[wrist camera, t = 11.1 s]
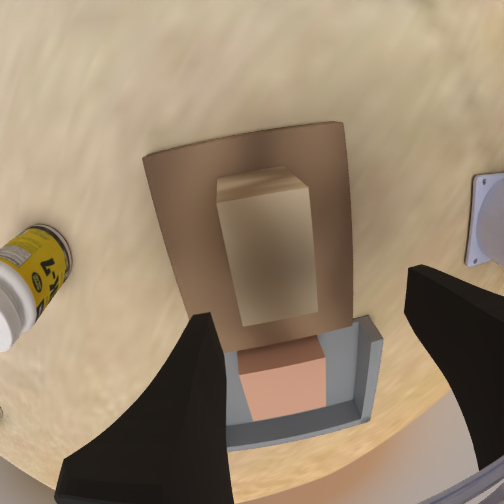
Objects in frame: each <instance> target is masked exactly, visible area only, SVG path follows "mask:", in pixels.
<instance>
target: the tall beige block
mask: <svg viewBox="0 0 504 504" xmlns="http://www.w3.org/2000/svg"><path fill="white" fill-rule="evenodd" d="M216 204H217V209H218V214H219V219H220V224H221V228H222V233H223V238H224V243H225V247H226V252H227V257H228V261H229V266H230V271H231V275H232V280H233V284H234V289H235V293H236V298H237V302H238V307H239V311H240V316H241V320H242V325H243V327H244V326H250V325H255V324H261V323H266V322H271V321H276V320H281V319H286V318H291V317H296V316H301V315H306V314H310V313H315V312H318V301H317V284H316V269H315V255H314V242H313V230H312V219H311V209H310V199H309V189H308V187H307V186H306V185H305V184H304V183H303V182H302V181H301V180H299V179H298V178H297V177H296V176H295V175H294V174H293V173H292V172H290V171H289V170H288V169H287V168H286V167H285V166H279V167H273V168H267V169H261V170H255V171H249V172H243V173H237V174H232V175H227V176H221V177H217V199H216Z"/></svg>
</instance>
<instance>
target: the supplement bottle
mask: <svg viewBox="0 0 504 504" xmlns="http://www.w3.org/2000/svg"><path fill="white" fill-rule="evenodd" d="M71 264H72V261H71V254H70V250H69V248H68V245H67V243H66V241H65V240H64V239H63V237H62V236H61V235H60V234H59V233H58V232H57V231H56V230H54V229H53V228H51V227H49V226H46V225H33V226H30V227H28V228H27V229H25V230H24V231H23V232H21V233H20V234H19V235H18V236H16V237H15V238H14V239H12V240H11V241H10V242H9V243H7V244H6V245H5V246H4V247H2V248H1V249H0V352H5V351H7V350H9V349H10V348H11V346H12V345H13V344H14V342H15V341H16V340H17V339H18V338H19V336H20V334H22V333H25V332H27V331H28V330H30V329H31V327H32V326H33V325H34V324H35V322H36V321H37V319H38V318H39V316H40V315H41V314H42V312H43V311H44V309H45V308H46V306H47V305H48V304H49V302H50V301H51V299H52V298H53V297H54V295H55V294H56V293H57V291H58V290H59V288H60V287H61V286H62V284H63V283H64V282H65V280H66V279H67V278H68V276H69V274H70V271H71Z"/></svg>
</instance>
